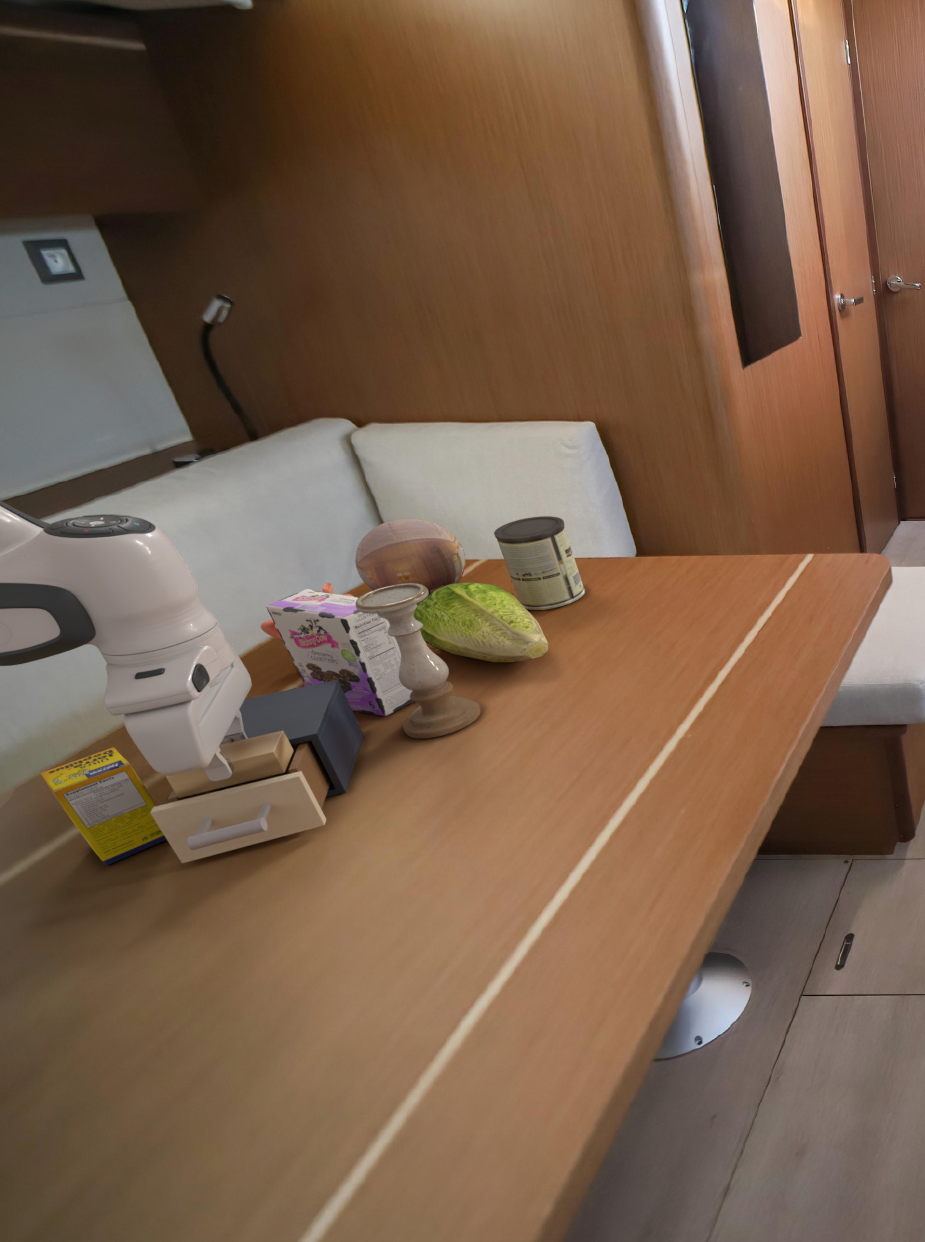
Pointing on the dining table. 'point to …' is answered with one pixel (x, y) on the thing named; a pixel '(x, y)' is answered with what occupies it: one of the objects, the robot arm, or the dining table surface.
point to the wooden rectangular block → (240, 764)
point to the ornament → (410, 555)
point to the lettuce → (480, 623)
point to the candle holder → (419, 664)
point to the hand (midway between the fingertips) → (231, 761)
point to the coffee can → (540, 562)
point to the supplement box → (106, 804)
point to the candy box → (342, 649)
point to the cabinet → (310, 725)
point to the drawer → (247, 809)
